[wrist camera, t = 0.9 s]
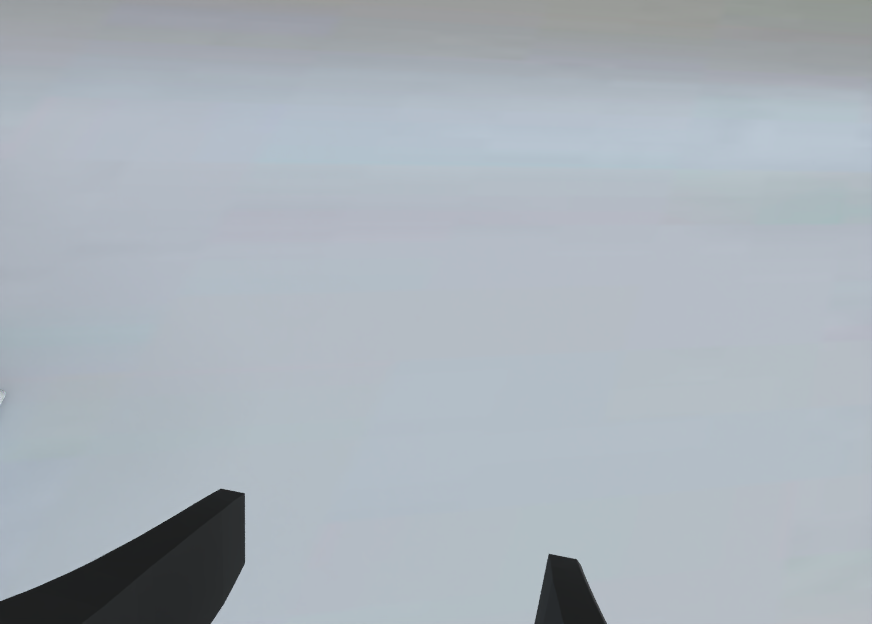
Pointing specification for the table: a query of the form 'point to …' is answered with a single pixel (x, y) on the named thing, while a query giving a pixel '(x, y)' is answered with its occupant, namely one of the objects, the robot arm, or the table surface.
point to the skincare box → (2, 395)
